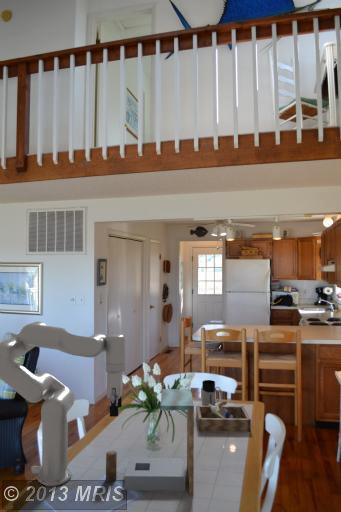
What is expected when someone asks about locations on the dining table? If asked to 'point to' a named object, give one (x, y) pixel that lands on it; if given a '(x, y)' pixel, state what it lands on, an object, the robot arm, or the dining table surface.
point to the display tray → (223, 420)
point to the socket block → (155, 474)
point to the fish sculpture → (220, 411)
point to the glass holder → (209, 393)
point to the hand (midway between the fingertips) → (115, 411)
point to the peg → (111, 466)
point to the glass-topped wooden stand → (184, 401)
